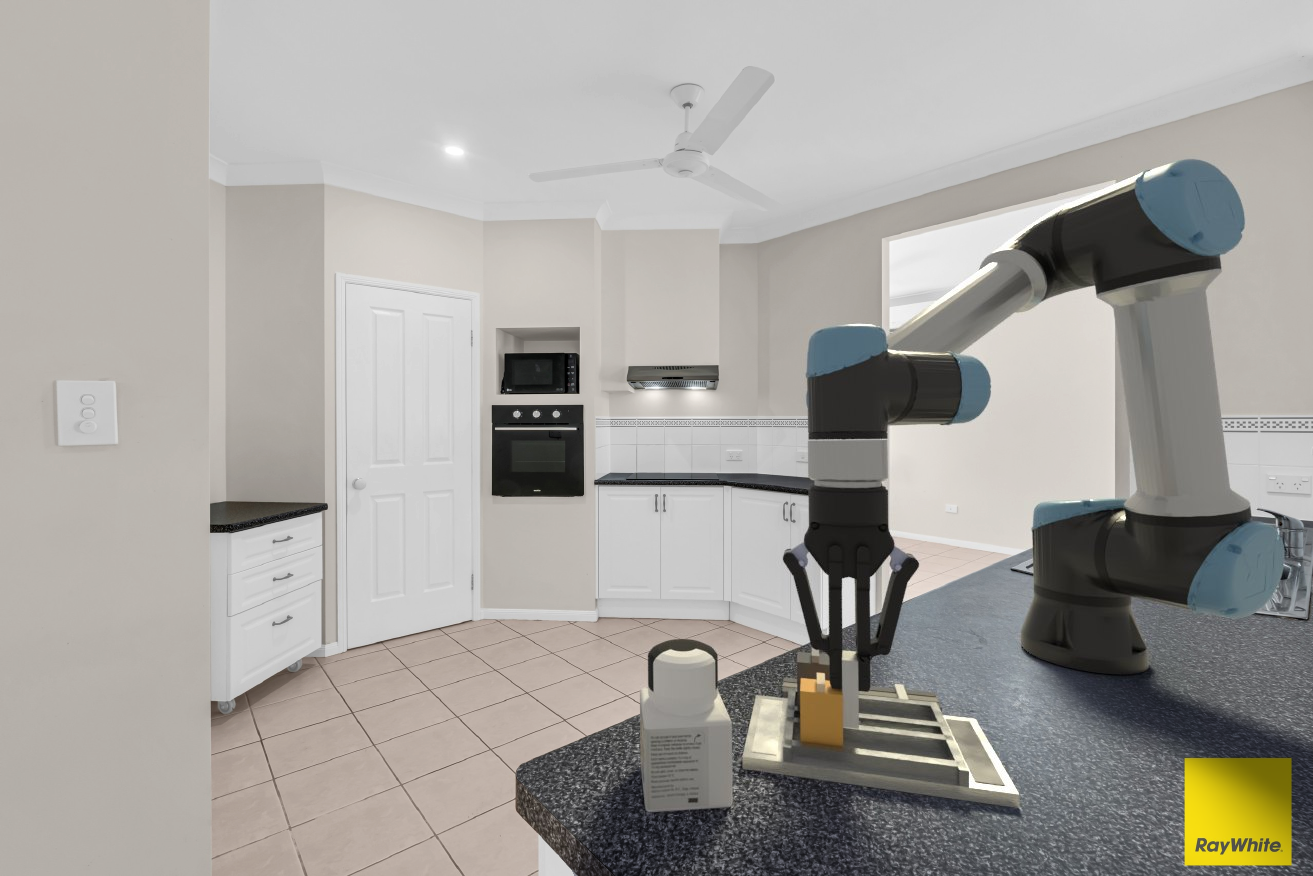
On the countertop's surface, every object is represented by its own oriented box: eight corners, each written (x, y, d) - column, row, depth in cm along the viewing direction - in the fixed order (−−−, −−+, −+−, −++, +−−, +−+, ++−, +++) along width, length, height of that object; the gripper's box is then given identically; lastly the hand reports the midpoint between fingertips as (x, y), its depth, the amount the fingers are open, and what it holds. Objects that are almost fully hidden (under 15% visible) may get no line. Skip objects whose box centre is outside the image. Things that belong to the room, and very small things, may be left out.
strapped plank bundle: (933, 700, 70) (933, 687, 70) (942, 719, 65) (942, 705, 65) (784, 685, 75) (784, 673, 75) (782, 702, 70) (782, 689, 70)
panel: (975, 729, 63) (975, 706, 63) (1019, 808, 50) (1019, 778, 50) (756, 705, 70) (756, 683, 70) (742, 768, 56) (742, 742, 56)
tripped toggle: (841, 740, 58) (840, 674, 59) (843, 757, 55) (842, 687, 55) (801, 735, 60) (800, 670, 60) (800, 752, 56) (800, 683, 56)
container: (640, 764, 57) (639, 634, 57) (716, 760, 58) (715, 631, 58) (645, 814, 49) (644, 664, 49) (733, 809, 50) (732, 660, 50)
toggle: (833, 707, 66) (833, 648, 66) (834, 720, 63) (834, 658, 63) (798, 703, 67) (797, 645, 67) (797, 716, 64) (796, 655, 64)
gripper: (911, 481, 59) (914, 711, 59) (782, 480, 62) (784, 697, 62) (925, 487, 52) (928, 750, 51) (778, 485, 55) (780, 731, 55)
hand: (849, 721), depth 57 cm, fingers closed
